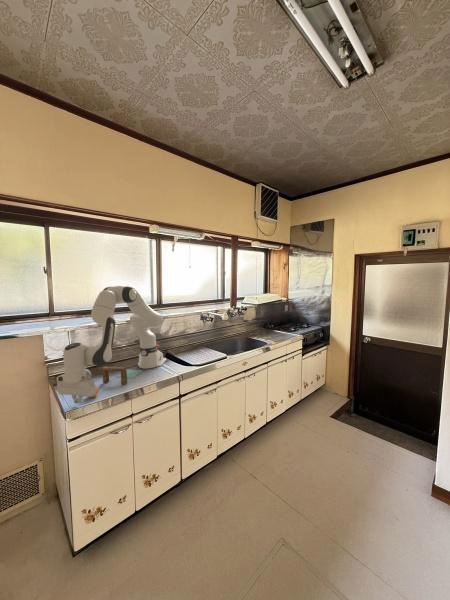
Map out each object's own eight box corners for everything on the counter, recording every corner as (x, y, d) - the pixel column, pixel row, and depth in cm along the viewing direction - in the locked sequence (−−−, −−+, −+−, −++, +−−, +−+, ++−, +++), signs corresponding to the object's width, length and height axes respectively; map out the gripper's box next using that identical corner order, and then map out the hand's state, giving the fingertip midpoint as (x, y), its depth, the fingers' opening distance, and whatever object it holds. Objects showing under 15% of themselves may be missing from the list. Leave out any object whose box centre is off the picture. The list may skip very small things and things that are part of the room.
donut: (74, 388, 143) (73, 372, 142) (72, 387, 145) (71, 371, 144) (92, 383, 150) (91, 367, 149) (91, 381, 152) (89, 366, 151)
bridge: (106, 381, 152) (105, 366, 151) (127, 382, 148) (126, 367, 148) (103, 383, 149) (101, 367, 148) (124, 385, 146) (123, 369, 145)
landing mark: (128, 369, 171) (128, 369, 171) (144, 370, 168) (144, 370, 168) (115, 377, 159) (115, 376, 159) (133, 378, 155) (133, 377, 155)
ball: (92, 393, 135) (91, 383, 135) (101, 394, 134) (100, 384, 133) (83, 399, 129) (82, 388, 129) (93, 400, 128) (92, 389, 127)
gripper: (98, 375, 122) (100, 401, 123) (64, 372, 127) (67, 398, 128) (88, 380, 116) (90, 408, 117) (53, 377, 121) (56, 404, 122)
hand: (78, 402), depth 122 cm, fingers closed
